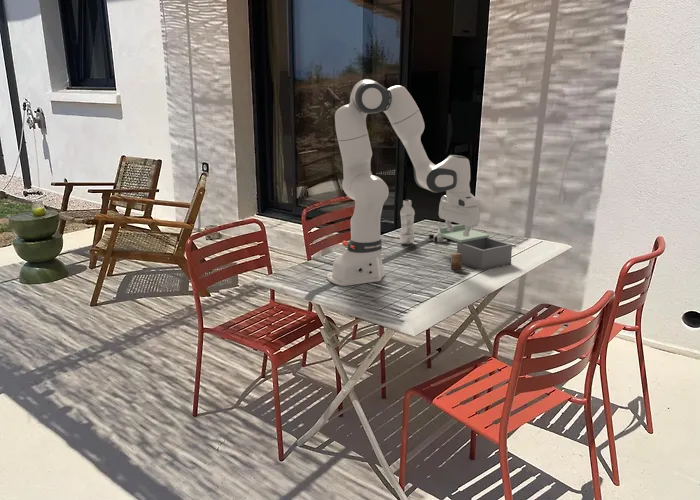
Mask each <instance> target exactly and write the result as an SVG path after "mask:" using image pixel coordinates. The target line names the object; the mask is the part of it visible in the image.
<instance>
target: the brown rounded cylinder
mask: <svg viewBox="0 0 700 500" xmlns="http://www.w3.org/2000/svg"><path fill="white" fill-rule="evenodd" d="M450 255H451V256H450V270H452V271H461V270H462V264H463V263H462V254H461V253H457V252H452V253H451V254H450Z"/></svg>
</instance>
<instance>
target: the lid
mask: <svg viewBox="0 0 700 500" xmlns="http://www.w3.org/2000/svg"><path fill="white" fill-rule="evenodd" d="M452 227H453V231H452V232H449V231H447V226H443V227H442V226H441V227H439V229H440V232H439V233H438V235H439V236H442V237H445V238H448V240H452V241H455V242H456V243H457V242H460V243H462V242H467V241H472V240H477V239H482V238H490V234H488V233H484V232H480V231H477V230H474V229H471V230H470V232H469V236H468V237H465V236H463V232H464V231H465V229H466V228H465V225H462V224H459V223H458V224H454V225H453V224H452Z"/></svg>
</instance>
